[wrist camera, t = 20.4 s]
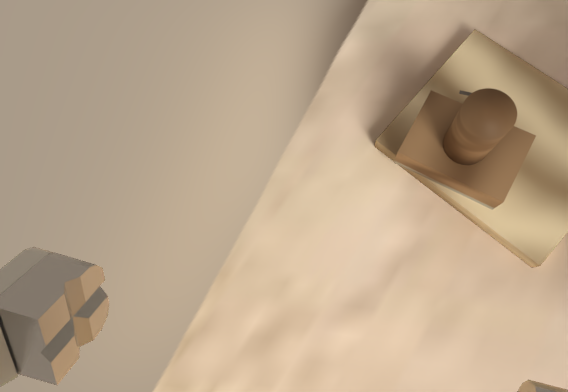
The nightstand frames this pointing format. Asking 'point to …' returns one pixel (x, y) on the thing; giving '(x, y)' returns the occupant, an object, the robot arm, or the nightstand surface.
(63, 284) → the robot arm
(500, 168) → the wooden stamp
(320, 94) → the nightstand surface
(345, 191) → the nightstand surface
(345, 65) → the nightstand surface
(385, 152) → the board
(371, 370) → the nightstand surface
